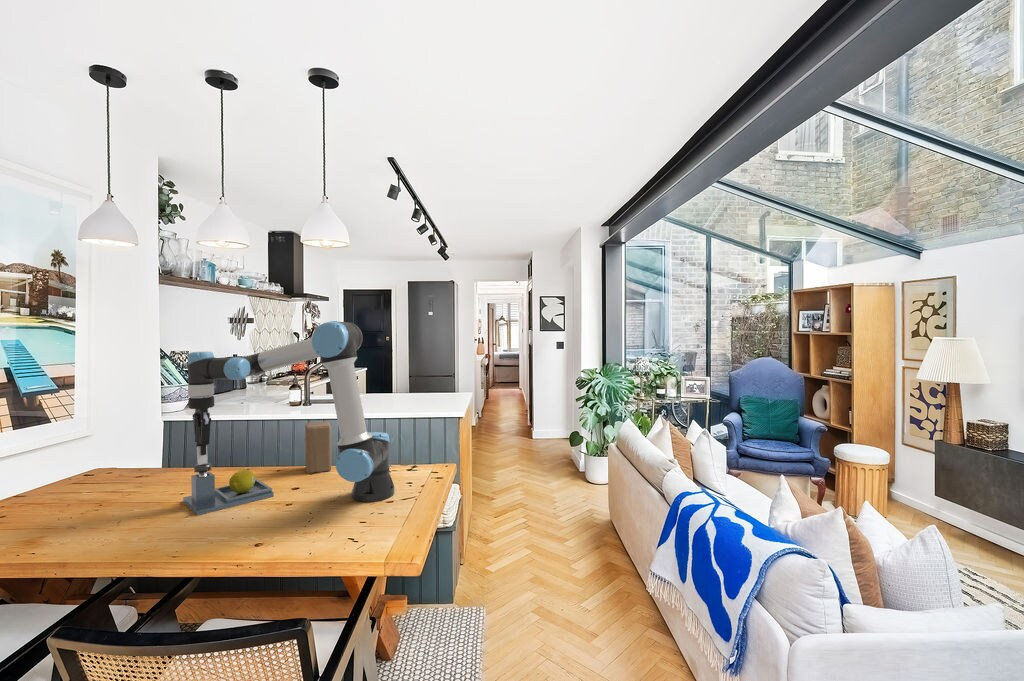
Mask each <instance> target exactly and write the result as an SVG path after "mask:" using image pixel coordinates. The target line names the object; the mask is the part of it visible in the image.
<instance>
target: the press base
mask: <svg viewBox="0 0 1024 681" xmlns="http://www.w3.org/2000/svg"><path fill="white" fill-rule="evenodd" d="M190 476H191V478H190V479H191V482H190V484H191V495H189V496H185V497H182V503H184V504H185V505H186V506H187V507H188V508H189V510H191V511H192V512H193V513H194V514H195V515H196V516H201V515H206V514H208V513H213V512H216V511H221V510H224V509H229V508H232V507H233V508H234V507H236V506H241V505H244V504H245V505H246V504H249V503H253V502H256V501H261V500H265V499H268V498H269V499H270V498H272V497H274V495H275V494H274V491H273V487H271V486H270V485H268V484H266V483H264V482H263V481H261V480H259V479H258V478H257V479H256V478H255V483H254V485H253V487H252V488H251V489H250V490H249V491H247V492H245V493H236V492H234V491H232V490H231V488H230V486H229V485H224V486H220V487H215V486H216V481H215V479H216V478H215V474H213V473H212V472H211V471H207V476H204V477H199V473H197V474H192V475H190Z"/></svg>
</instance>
